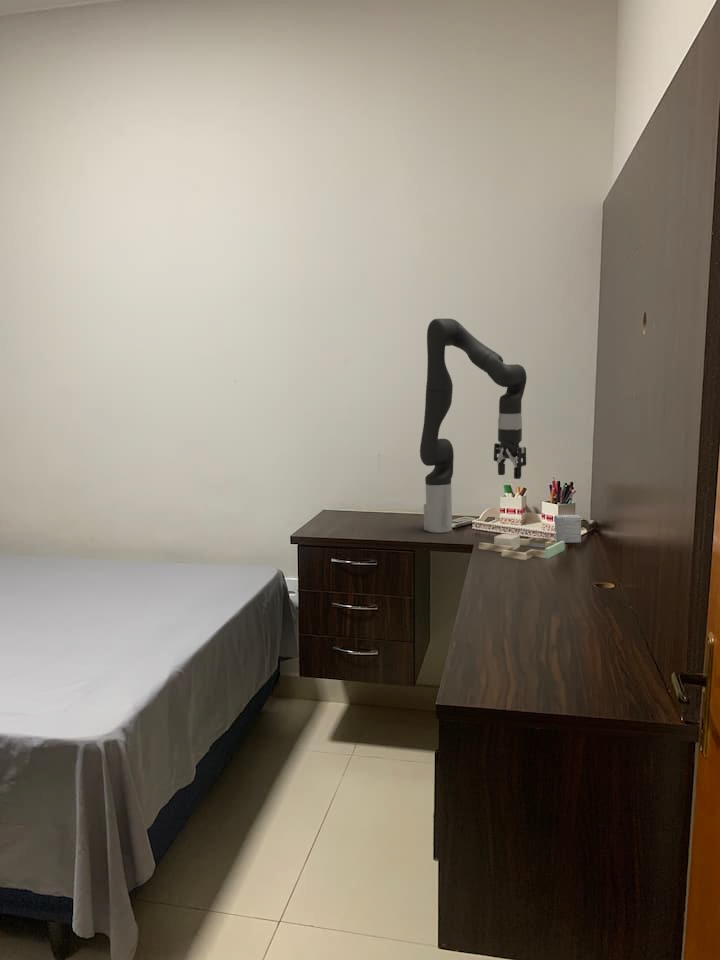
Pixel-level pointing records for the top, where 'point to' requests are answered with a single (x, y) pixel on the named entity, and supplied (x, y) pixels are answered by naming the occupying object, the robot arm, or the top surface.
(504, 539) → the ivory block
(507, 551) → the trap track
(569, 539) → the medicine box
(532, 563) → the top surface
